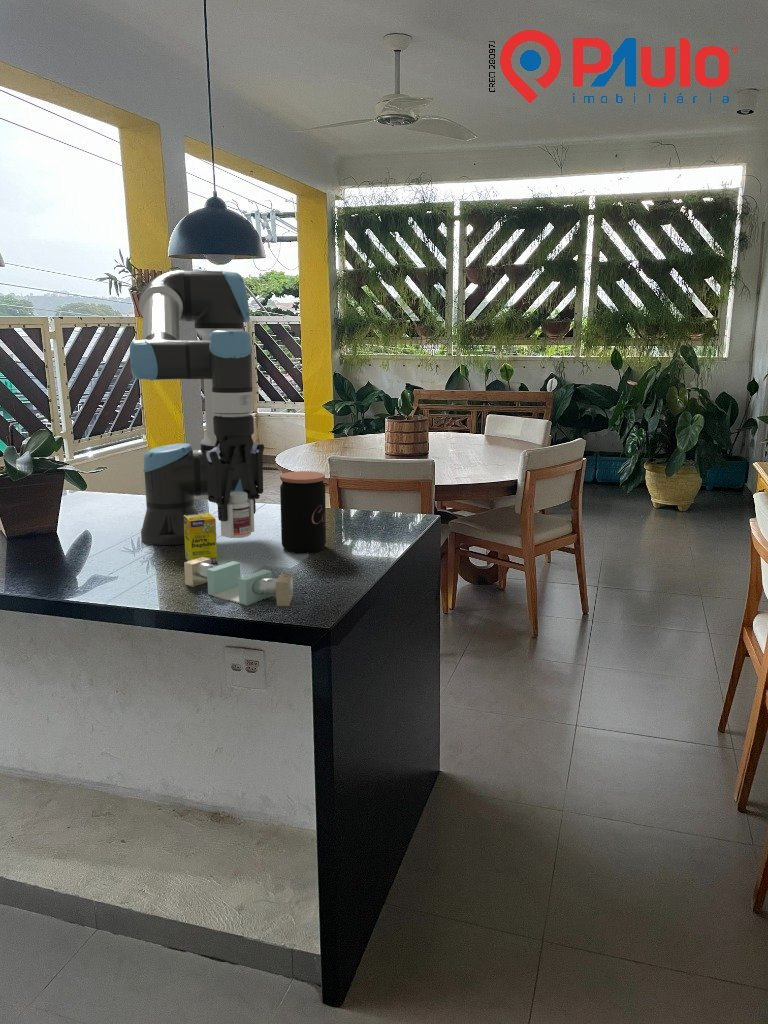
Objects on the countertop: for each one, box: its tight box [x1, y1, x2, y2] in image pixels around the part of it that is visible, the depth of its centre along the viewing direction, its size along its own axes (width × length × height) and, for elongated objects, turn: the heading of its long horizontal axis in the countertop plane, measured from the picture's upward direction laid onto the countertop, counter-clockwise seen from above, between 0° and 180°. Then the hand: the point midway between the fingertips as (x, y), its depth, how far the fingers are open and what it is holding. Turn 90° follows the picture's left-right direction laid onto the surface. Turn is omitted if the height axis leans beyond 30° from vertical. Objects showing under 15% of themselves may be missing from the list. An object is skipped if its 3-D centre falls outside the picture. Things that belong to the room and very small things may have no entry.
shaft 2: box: [252, 573, 294, 607], centre depth 148 cm, size 8×5×5 cm, turn 88°
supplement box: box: [184, 512, 218, 566], centre depth 171 cm, size 6×6×11 cm
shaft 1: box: [183, 557, 217, 588], centre depth 157 cm, size 9×5×5 cm, turn 53°
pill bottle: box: [229, 491, 252, 539], centre depth 148 cm, size 5×5×8 cm
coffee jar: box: [279, 470, 327, 555], centre depth 182 cm, size 11×11×18 cm
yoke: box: [207, 560, 273, 607], centre depth 151 cm, size 11×7×5 cm, turn 53°
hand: (238, 533), depth 149 cm, fingers closed on pill bottle, 5 cm apart
